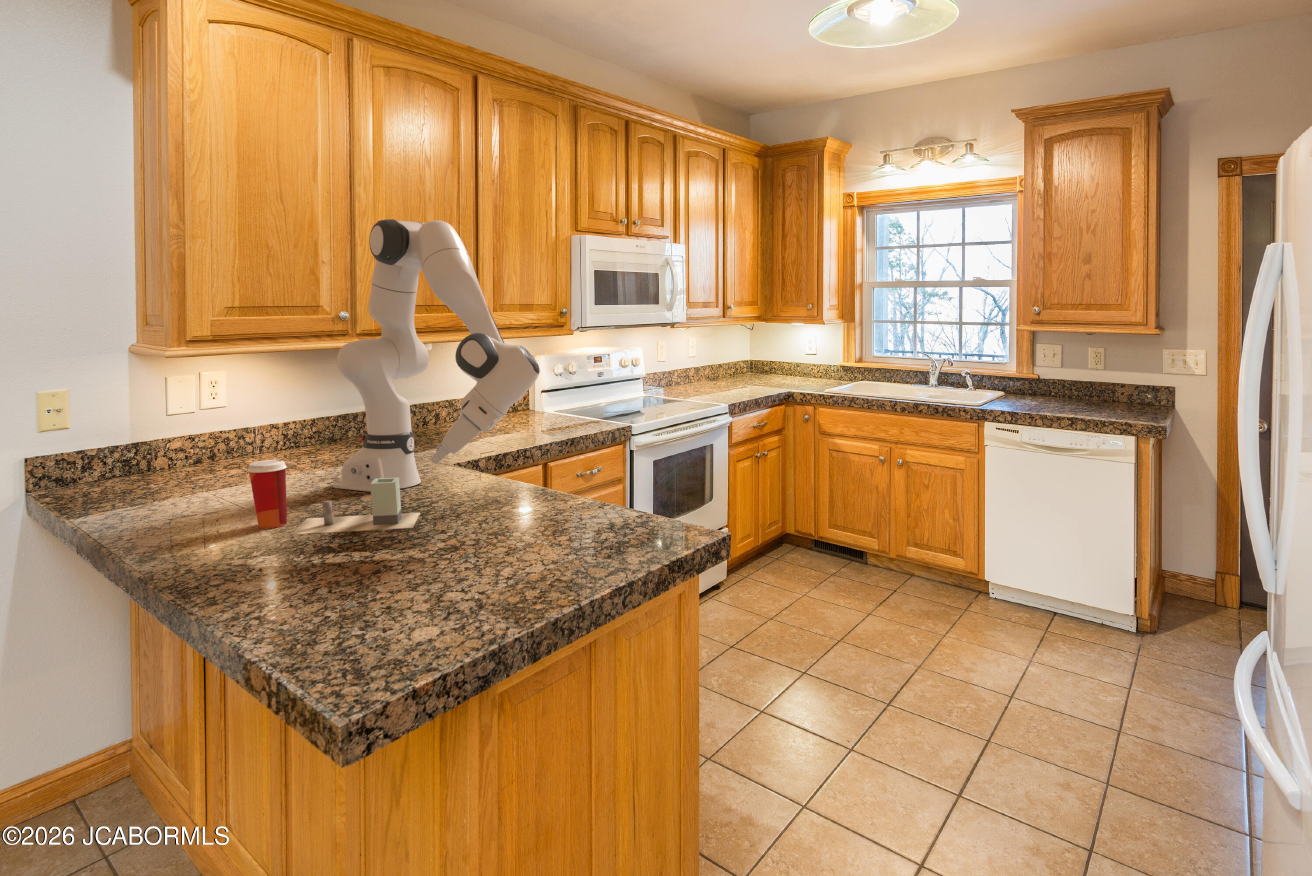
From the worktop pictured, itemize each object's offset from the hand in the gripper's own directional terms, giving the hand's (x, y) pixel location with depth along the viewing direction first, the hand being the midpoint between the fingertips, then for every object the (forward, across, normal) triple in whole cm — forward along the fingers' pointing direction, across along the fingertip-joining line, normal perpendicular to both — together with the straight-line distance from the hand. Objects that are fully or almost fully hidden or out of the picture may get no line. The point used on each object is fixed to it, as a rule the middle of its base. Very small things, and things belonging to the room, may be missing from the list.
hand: (435, 457), depth 163 cm
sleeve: (+17, 0, +2) cm, 17 cm away
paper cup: (+37, -8, -15) cm, 40 cm away
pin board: (+23, 0, -1) cm, 23 cm away
